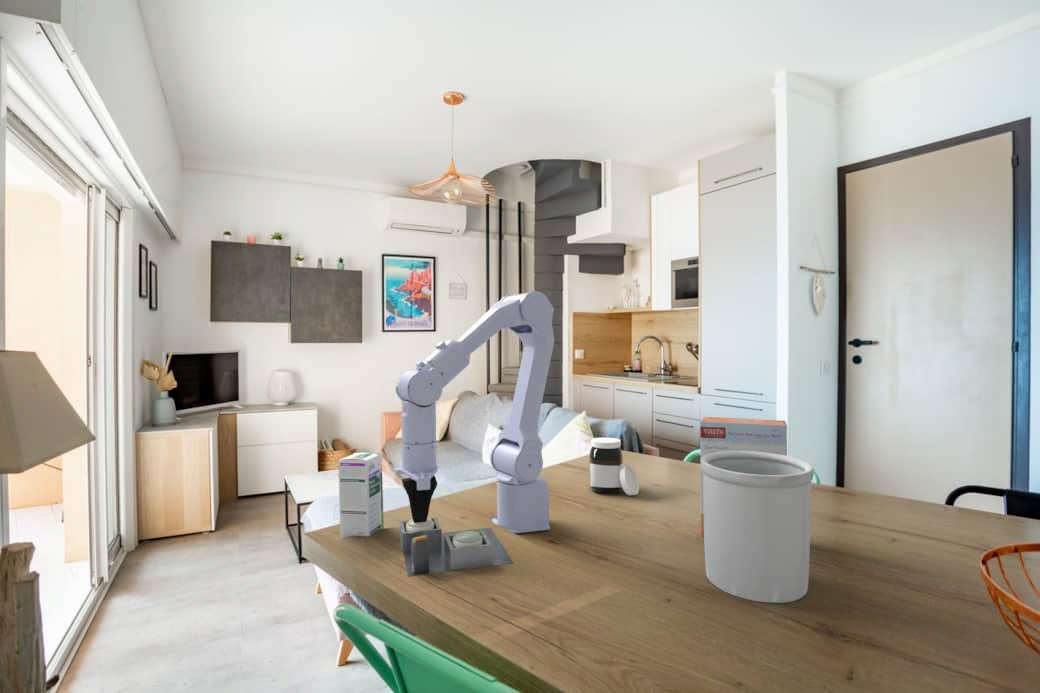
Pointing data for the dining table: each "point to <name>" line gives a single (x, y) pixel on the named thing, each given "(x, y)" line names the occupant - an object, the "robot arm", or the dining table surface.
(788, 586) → the utensil holder
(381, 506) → the syrup box
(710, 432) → the cracker box
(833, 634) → the dining table surface
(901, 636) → the dining table surface
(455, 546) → the knob sage
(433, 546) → the mount panel
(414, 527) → the knob cream
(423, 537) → the dial post
